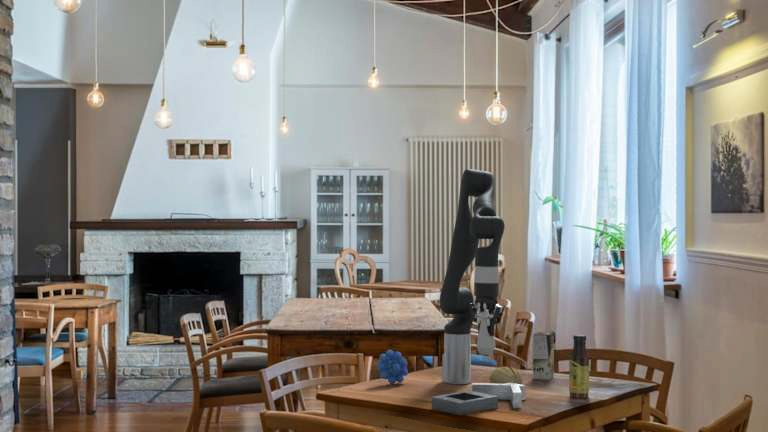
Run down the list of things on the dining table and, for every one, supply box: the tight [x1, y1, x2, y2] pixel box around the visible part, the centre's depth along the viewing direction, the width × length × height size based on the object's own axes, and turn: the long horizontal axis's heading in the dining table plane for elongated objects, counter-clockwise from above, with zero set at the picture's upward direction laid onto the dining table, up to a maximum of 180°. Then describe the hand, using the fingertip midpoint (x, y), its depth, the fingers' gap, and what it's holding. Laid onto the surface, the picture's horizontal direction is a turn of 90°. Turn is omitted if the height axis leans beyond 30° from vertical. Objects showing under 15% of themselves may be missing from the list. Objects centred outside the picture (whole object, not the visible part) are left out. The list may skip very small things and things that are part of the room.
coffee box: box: [532, 331, 555, 381], centre depth 302 cm, size 9×6×16 cm
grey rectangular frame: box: [430, 389, 499, 416], centre depth 249 cm, size 12×16×4 cm
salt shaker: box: [476, 312, 496, 356], centre depth 256 cm, size 6×6×13 cm
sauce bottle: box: [568, 333, 590, 399], centre depth 267 cm, size 7×6×20 cm
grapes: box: [376, 349, 409, 385], centre depth 287 cm, size 12×7×12 cm, turn 115°
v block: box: [471, 382, 526, 409], centre depth 260 cm, size 12×20×4 cm, turn 40°
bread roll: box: [489, 366, 523, 385], centre depth 277 cm, size 10×15×8 cm, turn 17°
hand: (485, 336), depth 256 cm, fingers closed on salt shaker, 3 cm apart
